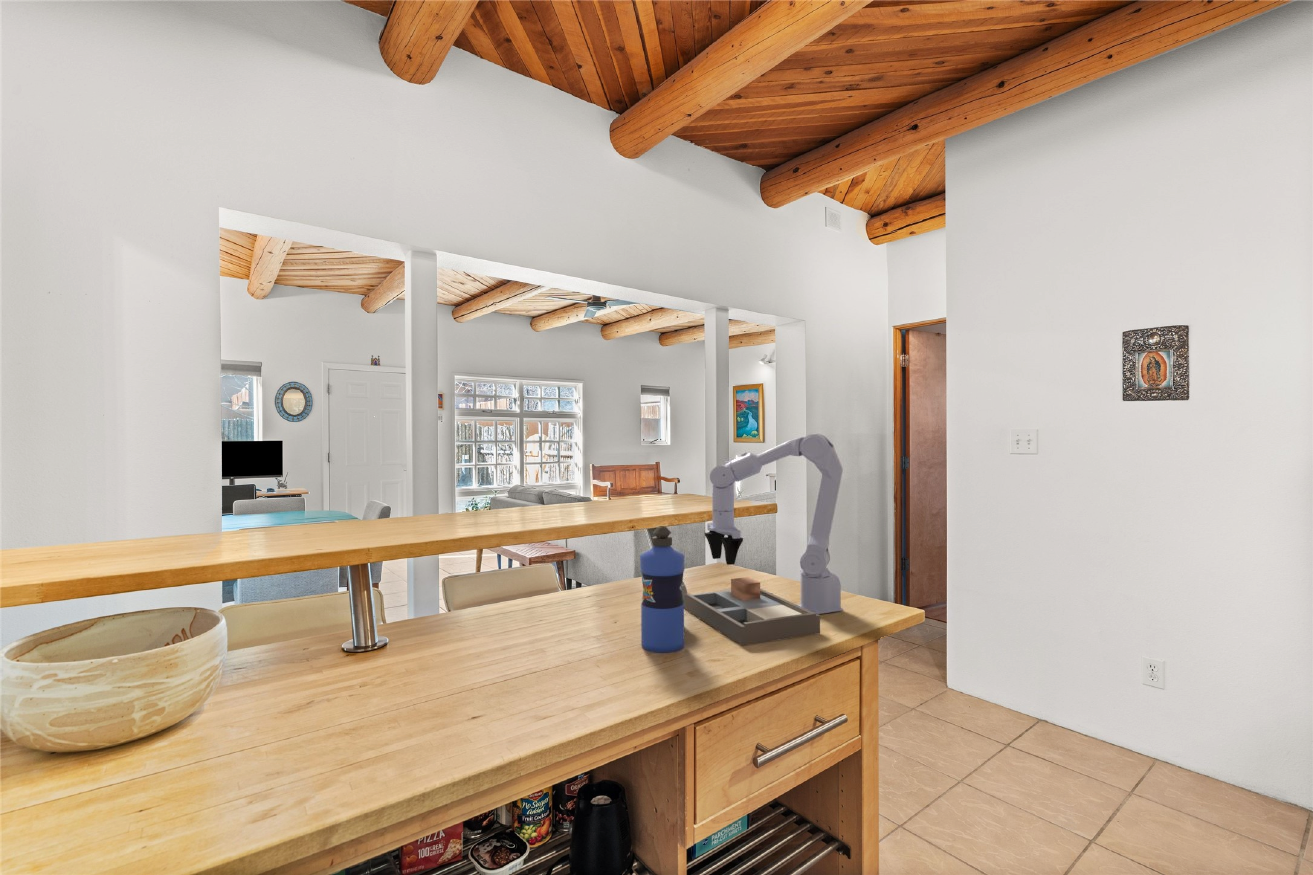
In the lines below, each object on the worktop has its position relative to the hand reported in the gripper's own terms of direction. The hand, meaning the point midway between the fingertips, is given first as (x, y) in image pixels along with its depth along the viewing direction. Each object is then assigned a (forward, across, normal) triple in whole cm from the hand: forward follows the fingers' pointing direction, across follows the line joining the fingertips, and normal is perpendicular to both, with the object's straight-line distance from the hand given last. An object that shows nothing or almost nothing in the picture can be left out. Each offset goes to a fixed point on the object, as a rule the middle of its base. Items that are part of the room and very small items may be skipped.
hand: (723, 561), depth 161 cm
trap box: (+10, +16, -3) cm, 20 cm away
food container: (+11, +14, -21) cm, 28 cm away
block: (+7, +8, +2) cm, 11 cm away
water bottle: (+11, +24, -28) cm, 39 cm away
